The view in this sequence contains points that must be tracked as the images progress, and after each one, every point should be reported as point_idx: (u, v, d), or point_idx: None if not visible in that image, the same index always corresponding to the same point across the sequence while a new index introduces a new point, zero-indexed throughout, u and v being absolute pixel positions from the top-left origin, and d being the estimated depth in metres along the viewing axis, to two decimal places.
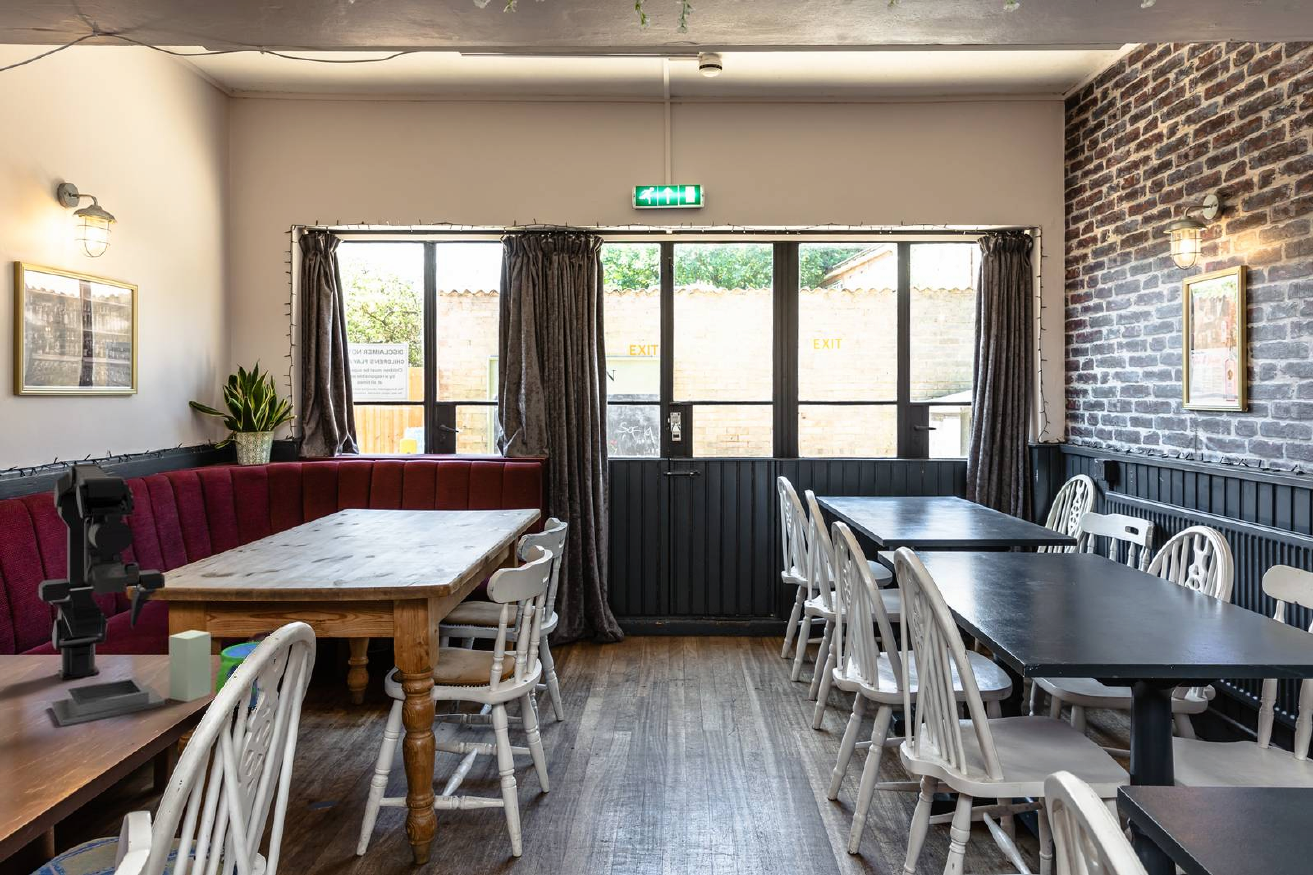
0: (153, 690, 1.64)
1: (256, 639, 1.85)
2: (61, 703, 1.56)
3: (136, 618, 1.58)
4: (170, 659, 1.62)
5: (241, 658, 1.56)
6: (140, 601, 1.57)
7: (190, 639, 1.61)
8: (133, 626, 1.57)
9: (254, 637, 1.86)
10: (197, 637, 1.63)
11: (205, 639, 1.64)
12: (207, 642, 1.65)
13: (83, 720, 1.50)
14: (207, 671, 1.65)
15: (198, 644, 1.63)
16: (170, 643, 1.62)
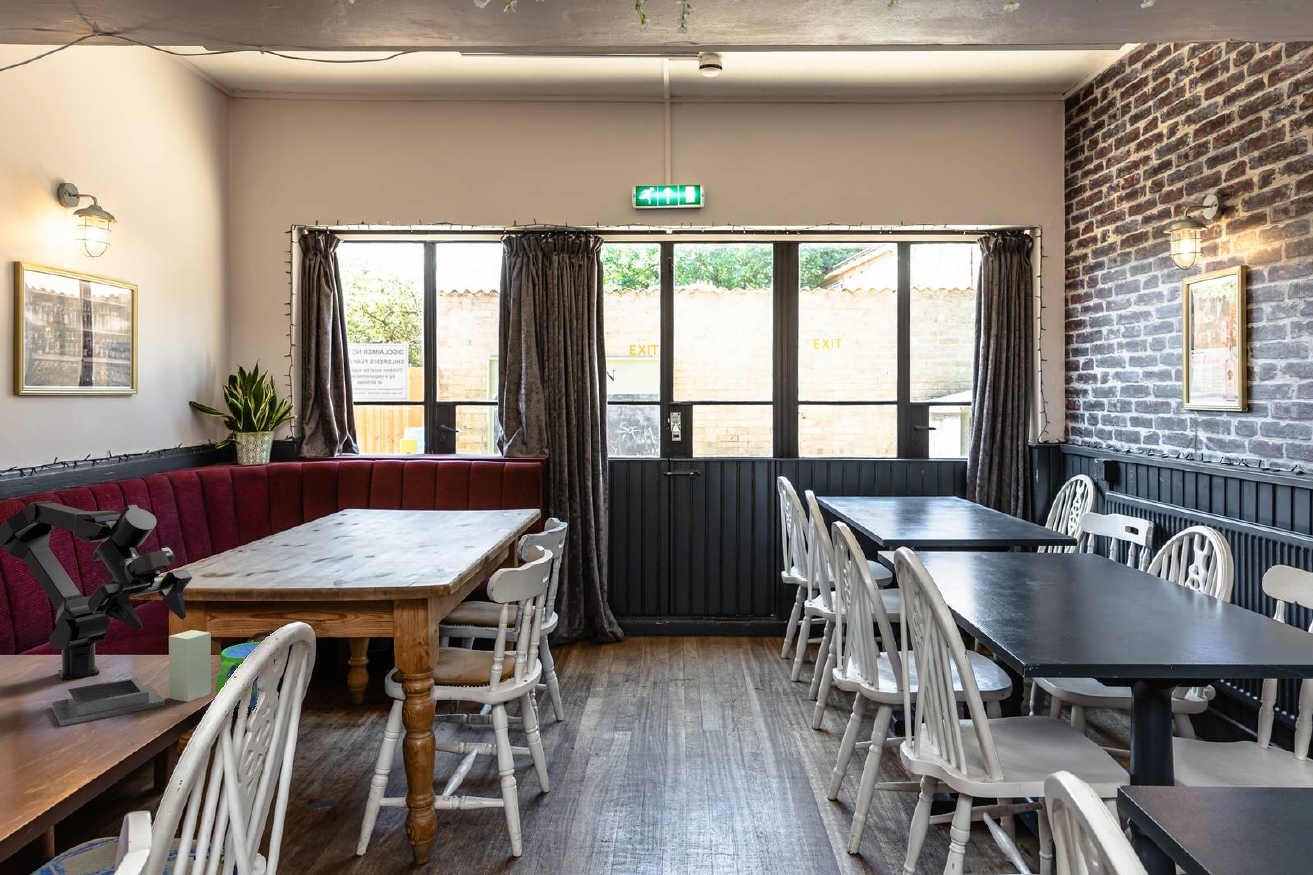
0: (153, 690, 1.64)
1: (256, 639, 1.85)
2: (61, 703, 1.56)
3: (183, 607, 1.71)
4: (170, 659, 1.62)
5: (241, 658, 1.56)
6: (179, 593, 1.72)
7: (190, 639, 1.61)
8: (184, 615, 1.71)
9: (254, 637, 1.86)
10: (197, 637, 1.63)
11: (205, 639, 1.64)
12: (207, 642, 1.65)
13: (83, 720, 1.50)
14: (207, 671, 1.65)
15: (198, 644, 1.63)
16: (170, 643, 1.62)
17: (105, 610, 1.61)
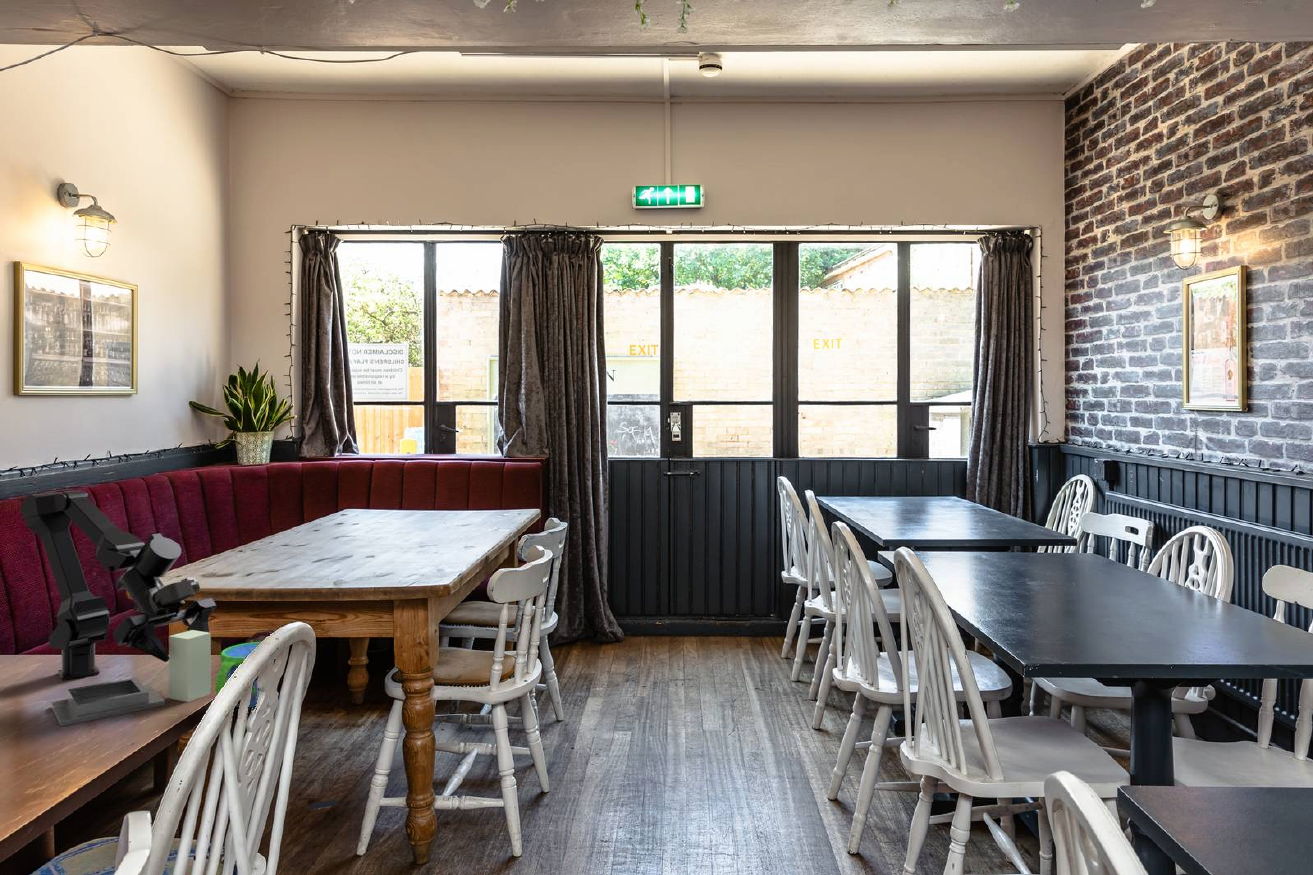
0: (153, 690, 1.64)
1: (255, 639, 1.85)
2: (61, 703, 1.56)
3: None
4: (170, 659, 1.62)
5: (241, 658, 1.56)
6: (204, 622, 1.70)
7: (190, 639, 1.61)
8: None
9: (253, 637, 1.86)
10: (197, 637, 1.63)
11: (205, 639, 1.64)
12: (207, 642, 1.65)
13: (83, 720, 1.50)
14: (207, 671, 1.65)
15: (198, 644, 1.63)
16: (170, 643, 1.62)
17: (131, 642, 1.59)
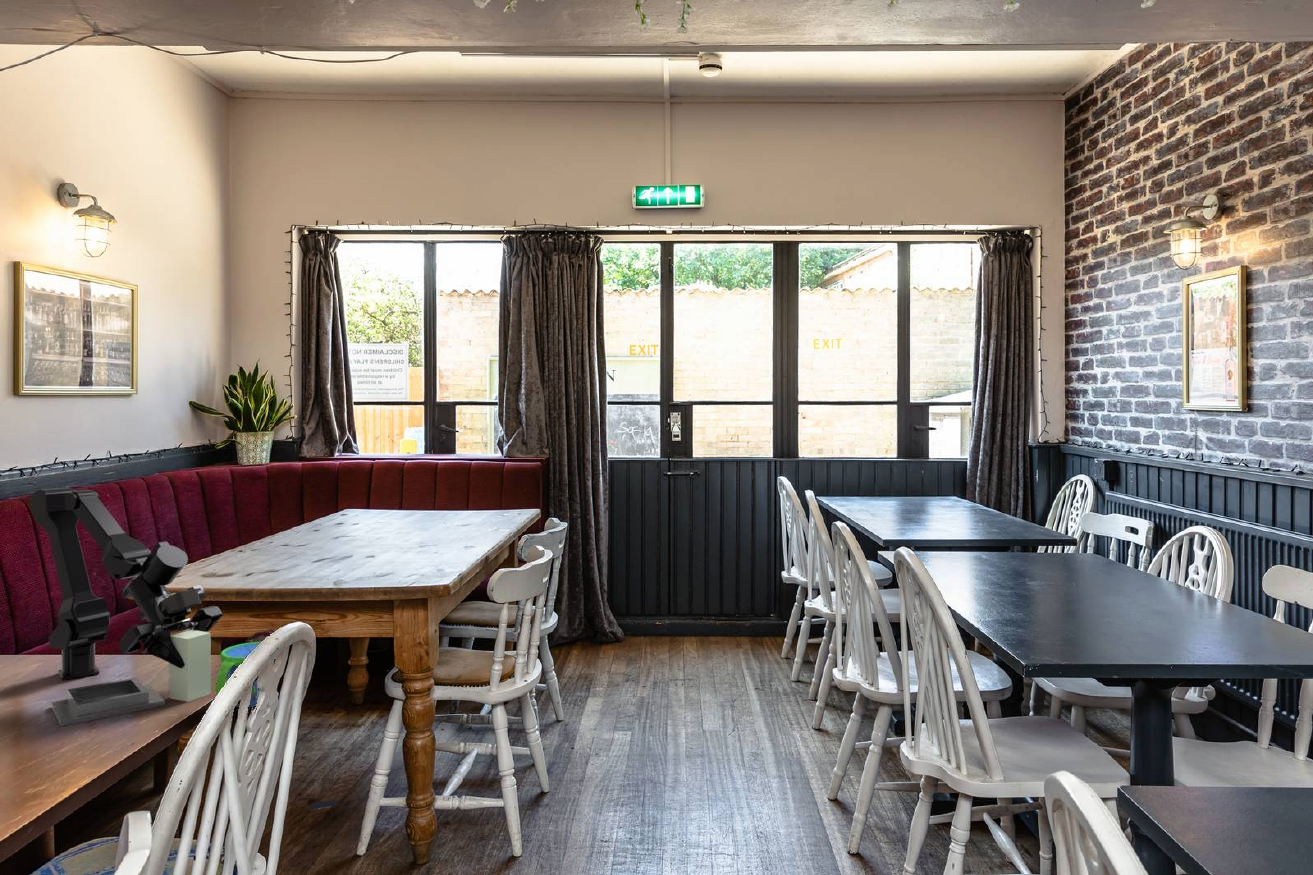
0: (153, 690, 1.64)
1: (255, 638, 1.86)
2: (61, 703, 1.56)
3: None
4: None
5: (241, 658, 1.56)
6: None
7: (190, 639, 1.61)
8: None
9: (253, 636, 1.86)
10: (197, 637, 1.63)
11: (205, 639, 1.64)
12: (207, 641, 1.65)
13: (83, 720, 1.50)
14: (207, 670, 1.65)
15: (198, 644, 1.63)
16: None
17: (147, 648, 1.60)
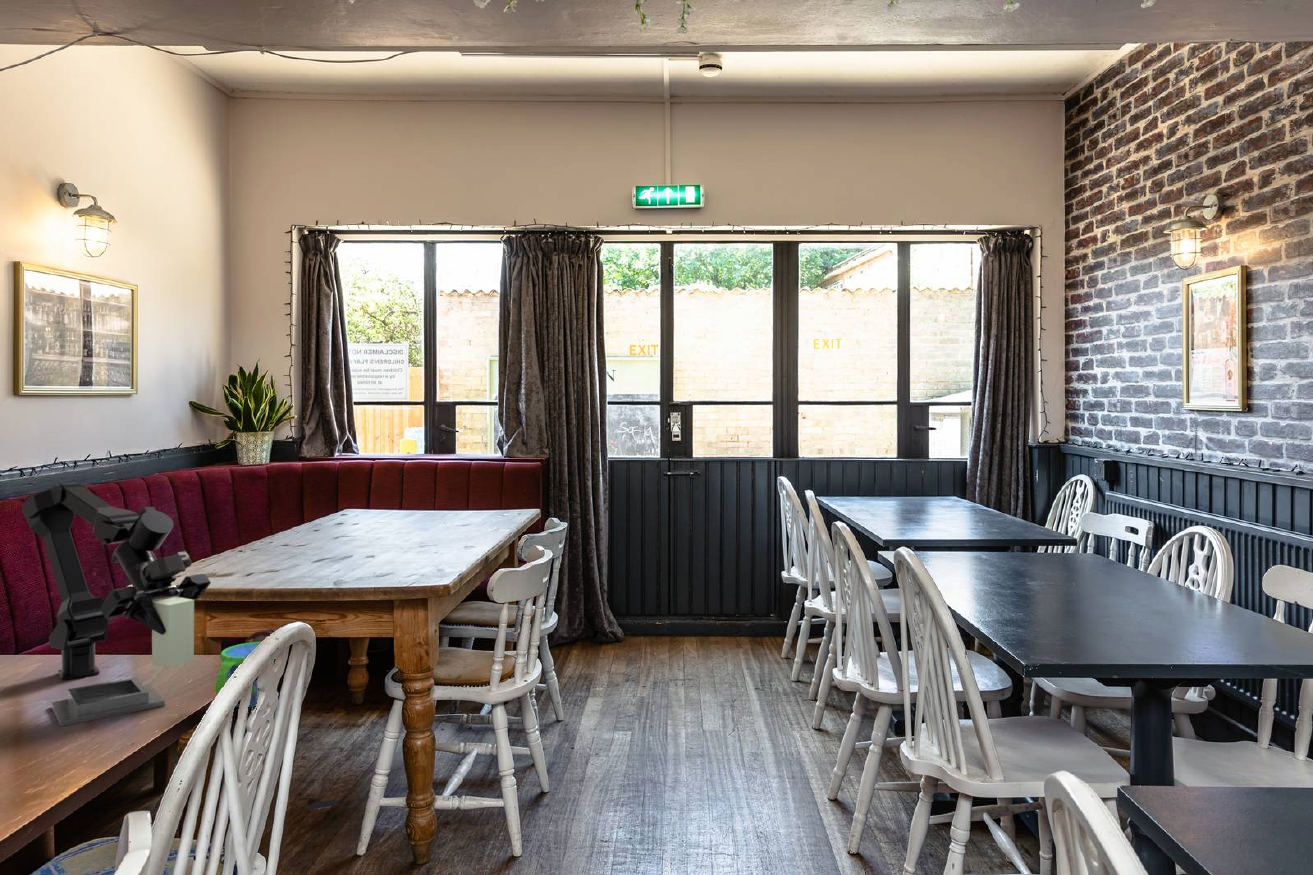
0: (153, 690, 1.64)
1: (255, 638, 1.86)
2: (61, 703, 1.56)
3: None
4: None
5: (241, 658, 1.56)
6: None
7: (171, 605, 1.59)
8: None
9: (253, 636, 1.86)
10: (179, 603, 1.60)
11: (188, 606, 1.62)
12: (190, 609, 1.62)
13: (83, 720, 1.50)
14: (190, 638, 1.63)
15: (180, 610, 1.61)
16: None
17: (129, 613, 1.59)
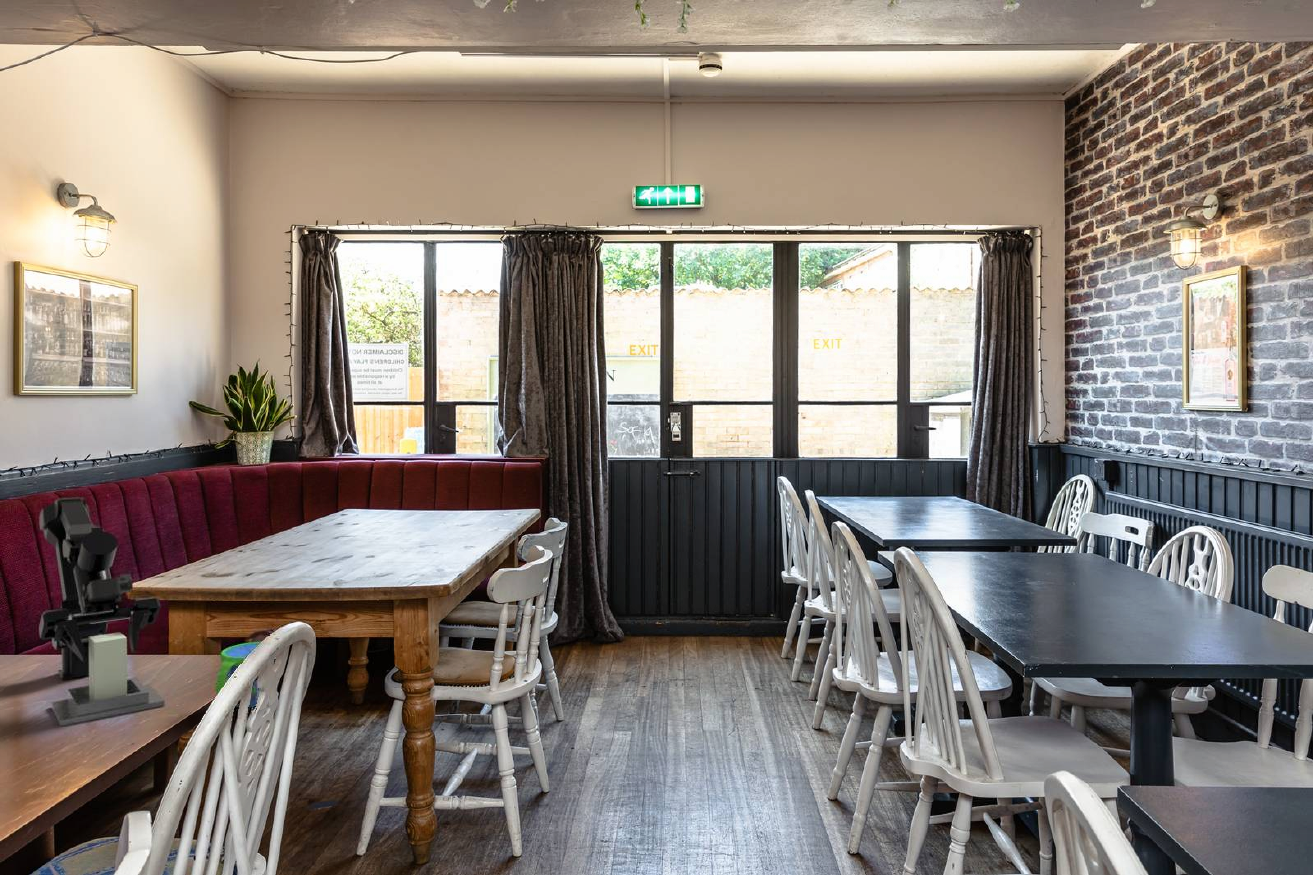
0: (153, 690, 1.64)
1: (254, 638, 1.86)
2: (61, 703, 1.56)
3: (135, 640, 1.60)
4: (89, 661, 1.57)
5: (241, 658, 1.56)
6: (136, 623, 1.62)
7: (98, 643, 1.54)
8: (134, 648, 1.59)
9: (252, 636, 1.87)
10: (108, 641, 1.55)
11: (119, 643, 1.57)
12: (122, 647, 1.57)
13: (83, 720, 1.50)
14: (122, 677, 1.57)
15: (110, 648, 1.55)
16: (89, 644, 1.57)
17: (56, 636, 1.55)
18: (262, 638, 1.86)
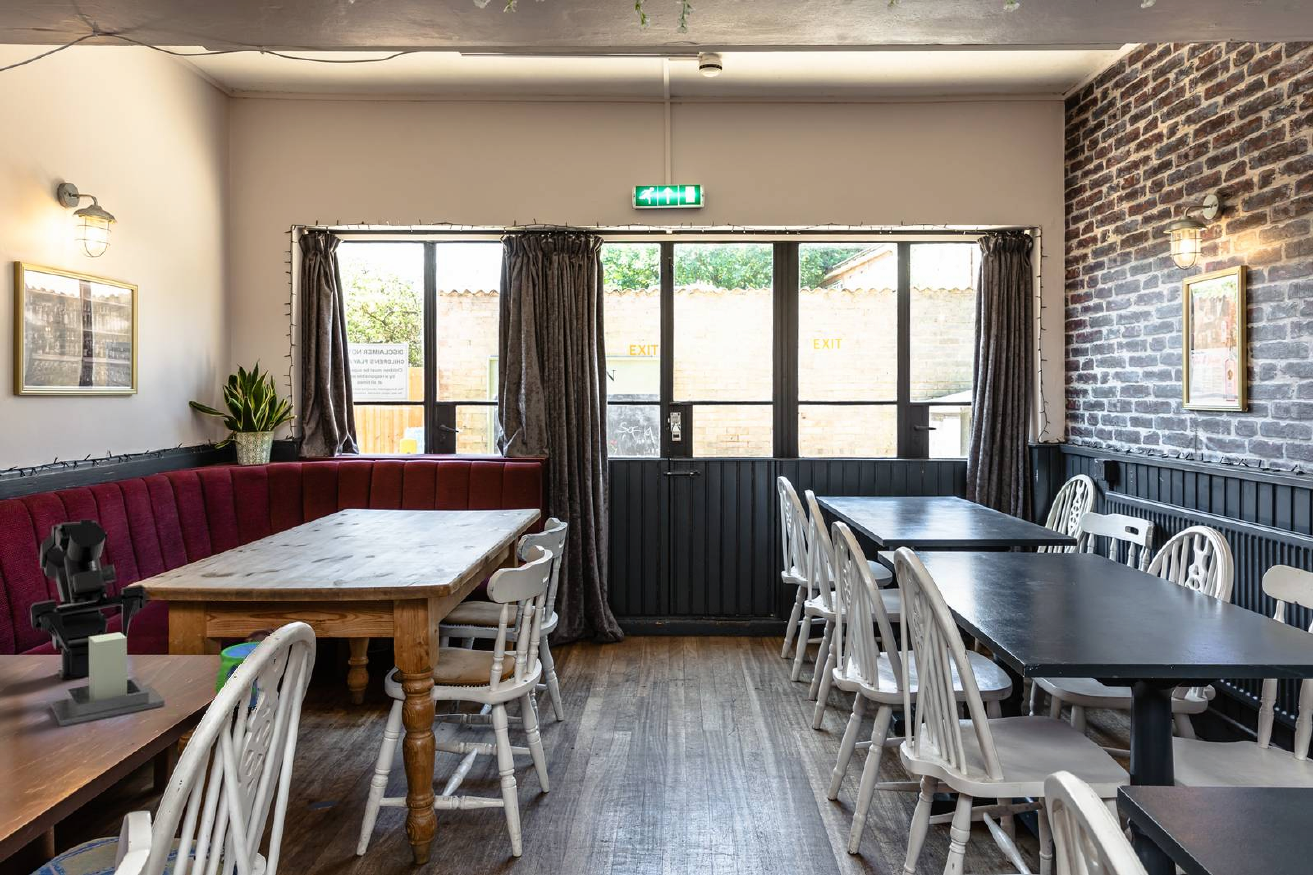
0: (153, 690, 1.64)
1: (254, 637, 1.87)
2: (61, 703, 1.56)
3: (126, 627, 1.66)
4: (89, 661, 1.57)
5: (241, 658, 1.56)
6: (126, 611, 1.67)
7: (98, 643, 1.54)
8: (124, 635, 1.65)
9: (252, 635, 1.87)
10: (108, 641, 1.55)
11: (119, 643, 1.57)
12: (122, 647, 1.57)
13: (83, 720, 1.50)
14: (122, 677, 1.57)
15: (110, 648, 1.55)
16: (89, 644, 1.57)
17: (43, 627, 1.62)
18: (261, 638, 1.86)
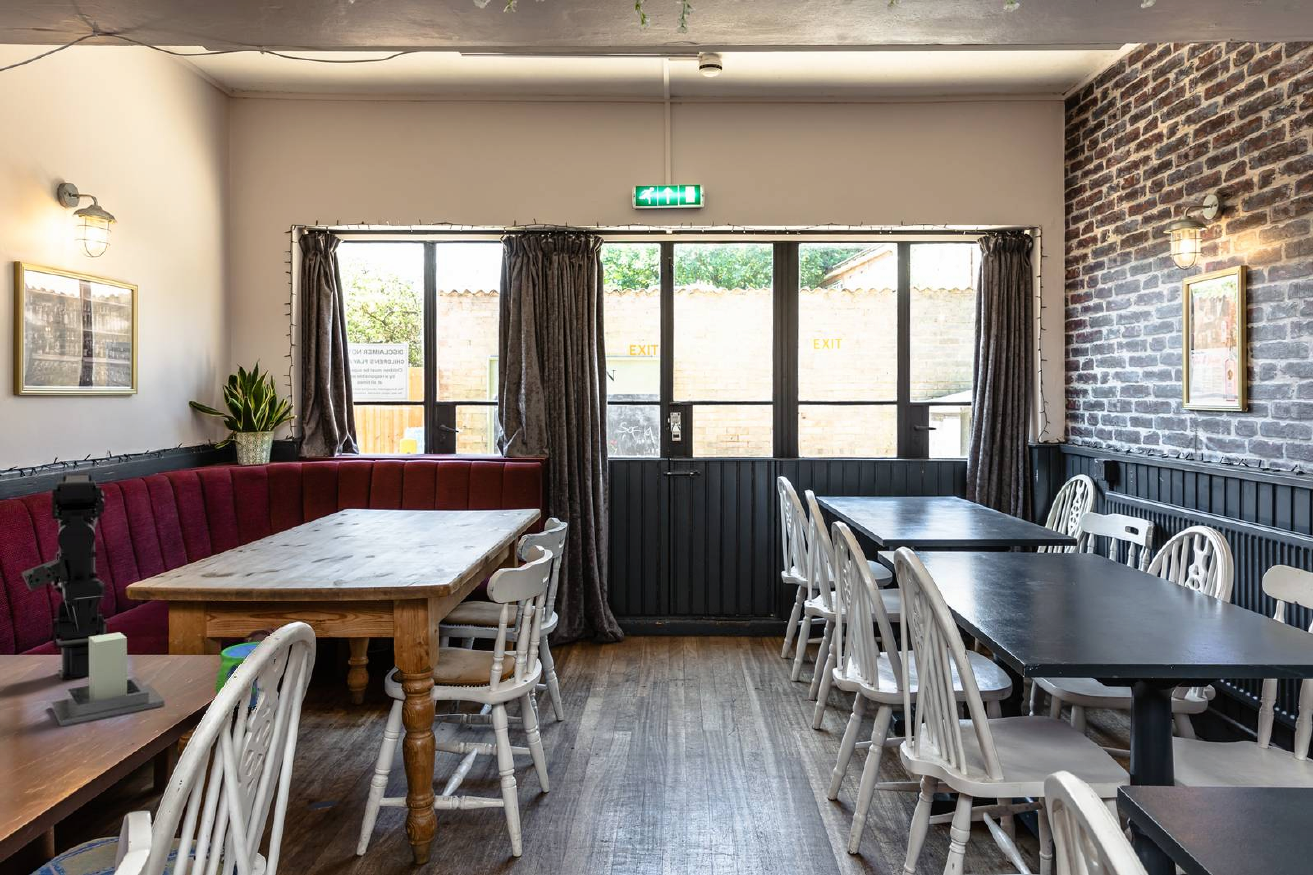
0: (153, 690, 1.64)
1: (253, 637, 1.87)
2: (61, 703, 1.56)
3: (76, 623, 1.60)
4: (89, 661, 1.57)
5: (241, 658, 1.56)
6: (73, 607, 1.59)
7: (98, 643, 1.54)
8: (78, 630, 1.60)
9: (251, 634, 1.88)
10: (108, 641, 1.55)
11: (119, 643, 1.57)
12: (122, 647, 1.57)
13: (83, 720, 1.50)
14: (122, 677, 1.57)
15: (110, 648, 1.55)
16: (89, 644, 1.57)
17: None
18: (261, 637, 1.86)
